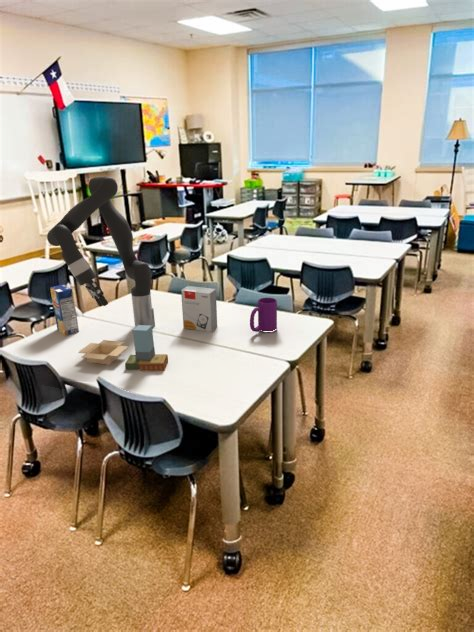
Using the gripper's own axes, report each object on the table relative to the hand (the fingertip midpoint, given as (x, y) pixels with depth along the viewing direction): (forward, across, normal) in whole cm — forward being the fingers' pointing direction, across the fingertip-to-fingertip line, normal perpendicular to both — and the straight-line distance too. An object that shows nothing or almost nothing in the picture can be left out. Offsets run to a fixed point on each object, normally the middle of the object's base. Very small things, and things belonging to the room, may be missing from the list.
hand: (104, 305), depth 194 cm
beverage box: (+6, +48, +14) cm, 51 cm away
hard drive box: (+36, +18, -36) cm, 54 cm away
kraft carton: (+20, +8, +11) cm, 24 cm away
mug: (+50, -2, -56) cm, 75 cm away
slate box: (+26, -8, -1) cm, 27 cm away
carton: (+30, -7, 0) cm, 31 cm away
